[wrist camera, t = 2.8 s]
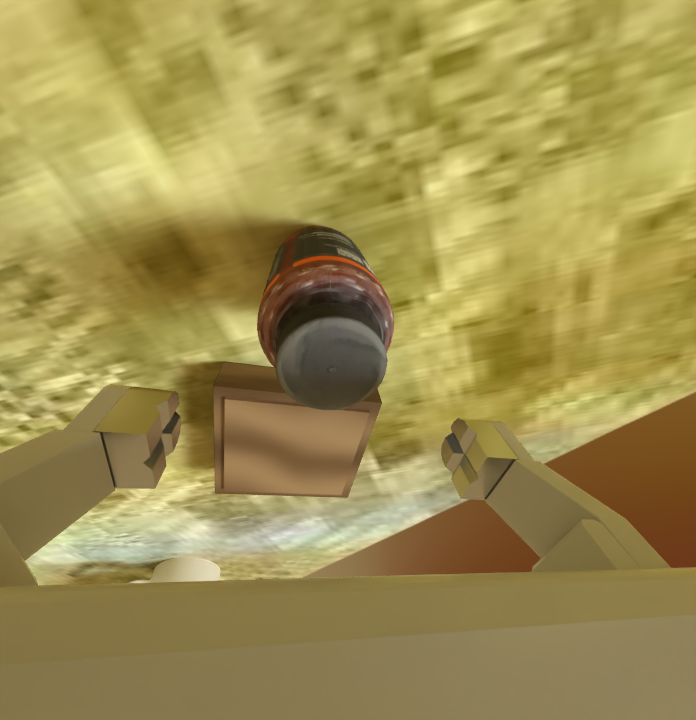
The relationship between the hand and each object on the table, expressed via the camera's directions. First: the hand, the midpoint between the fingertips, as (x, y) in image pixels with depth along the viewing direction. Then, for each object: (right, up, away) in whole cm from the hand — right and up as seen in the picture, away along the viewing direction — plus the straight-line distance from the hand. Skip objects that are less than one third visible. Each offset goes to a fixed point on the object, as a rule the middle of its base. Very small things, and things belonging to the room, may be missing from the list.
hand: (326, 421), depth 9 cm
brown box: (-4, -4, +18) cm, 19 cm away
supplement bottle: (-1, +8, +11) cm, 14 cm away
